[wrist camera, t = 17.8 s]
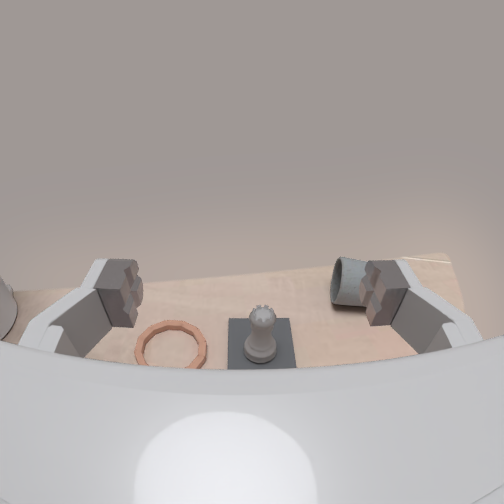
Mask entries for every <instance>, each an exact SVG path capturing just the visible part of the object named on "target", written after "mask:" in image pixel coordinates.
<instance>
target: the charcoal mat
mask: <svg viewBox="0 0 504 504" xmlns="http://www.w3.org/2000/svg"><path fill="white" fill-rule="evenodd" d="M273 326H274V328H273V330H272V331H271V335H272V337H273V338H274V340H275V341H276V346H277V348H276V351H277V352H276V354H275V357H274V358H272V359H271V360H270V361H268V362H265V363H256V362H253V361H251V360H250V359H248V358H247V357H246V355H245V353H244V343H245V341H246V339H247V337H248V336H249V335H250V334H251V332H252V329H251V322H250V320H249V318H229V332H228V370H256V369H289V368H296V361H295V354H294V347H293V341H292V334H291V328H290V321H289V318H276V322H275V324H274V325H273Z"/></svg>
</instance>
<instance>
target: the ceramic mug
mask: <svg viewBox="0 0 504 504" xmlns="http://www.w3.org/2000/svg"><path fill="white" fill-rule="evenodd" d="M366 263H367V262H365V261H360V260H355V259H350V258H345V257H339V258H338V259H337V261H336V263H335V266H334V270H333V275H332V281H331V301H332V303H333V304H340V305H351V306H363V307H365V306H364V305H363V304H362V303H361V300H360V297H359V285H360V282H361V279H362V278H363V277H364V276H365V275H366V272H365V270H364V269H365V266H366Z"/></svg>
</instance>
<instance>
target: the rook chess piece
mask: <svg viewBox="0 0 504 504" xmlns="http://www.w3.org/2000/svg"><path fill="white" fill-rule="evenodd" d="M268 307H269V306H267V305H265V306H264V307H261V305H258V306H257V309H255V308H254V309H253V311H252V312H251V313H250V315H249V320H250V322H251V329H252V332H251V334H250V335H249V336H248V337H247V339H246V341H245V343H244V353H245V355H246V357H247V358H248V359H250V360H251V361H253V362H256V363H265V362H268V361H270V360H271V359H272V358H274V357H275V354H276V352H277V351H276V348H277V346H276V341H275V340H274V338H273V337H272V335H271V331H272V330H273V328H274V326H273V325H274V324H275V322H276V315H275V313H274V311H273V309H272V308H271V309H268Z"/></svg>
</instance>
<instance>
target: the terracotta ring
mask: <svg viewBox="0 0 504 504" xmlns="http://www.w3.org/2000/svg"><path fill="white" fill-rule="evenodd" d="M165 330H183V331H184V332H186V333H188V334H190V335H192V336H194V338H195V340H196V341H197V343H198V345H199V348H198V355H197V357H196V358H195V359H194V360H193V361H192V363H191V364H190V365H189V366H188V367H185V368H191V369H200V368H201V366H202V365H203V364H204V363H205V360H206V352H207V343H206V340H205V338H204V337H203V335H202V333H201V332H200V330H199V329H198V328H197V327H195V326H193V325H191V324H189V323H187V322H185V321H184V322H183V321H176V320H167V321H166V320H165V321H162V322H160V323H157V324H154V325H151V326H150V327H148V328H147V329H146V330H145V331H144V332H143V333H142V334H141V335H140V336H139V337H138V339H137V343H136V347H135V351H134V354H135V356H136V359H137V361H138V364H139V365H147V366H149V365H148V364H146V362H145V360H144V357H143V353H144V349H145V344H146V343H147V342H148V341H149V340H150V339H151V338H152V337H153V336H154V335H155V334H157V333H160V332H163V331H165Z"/></svg>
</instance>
